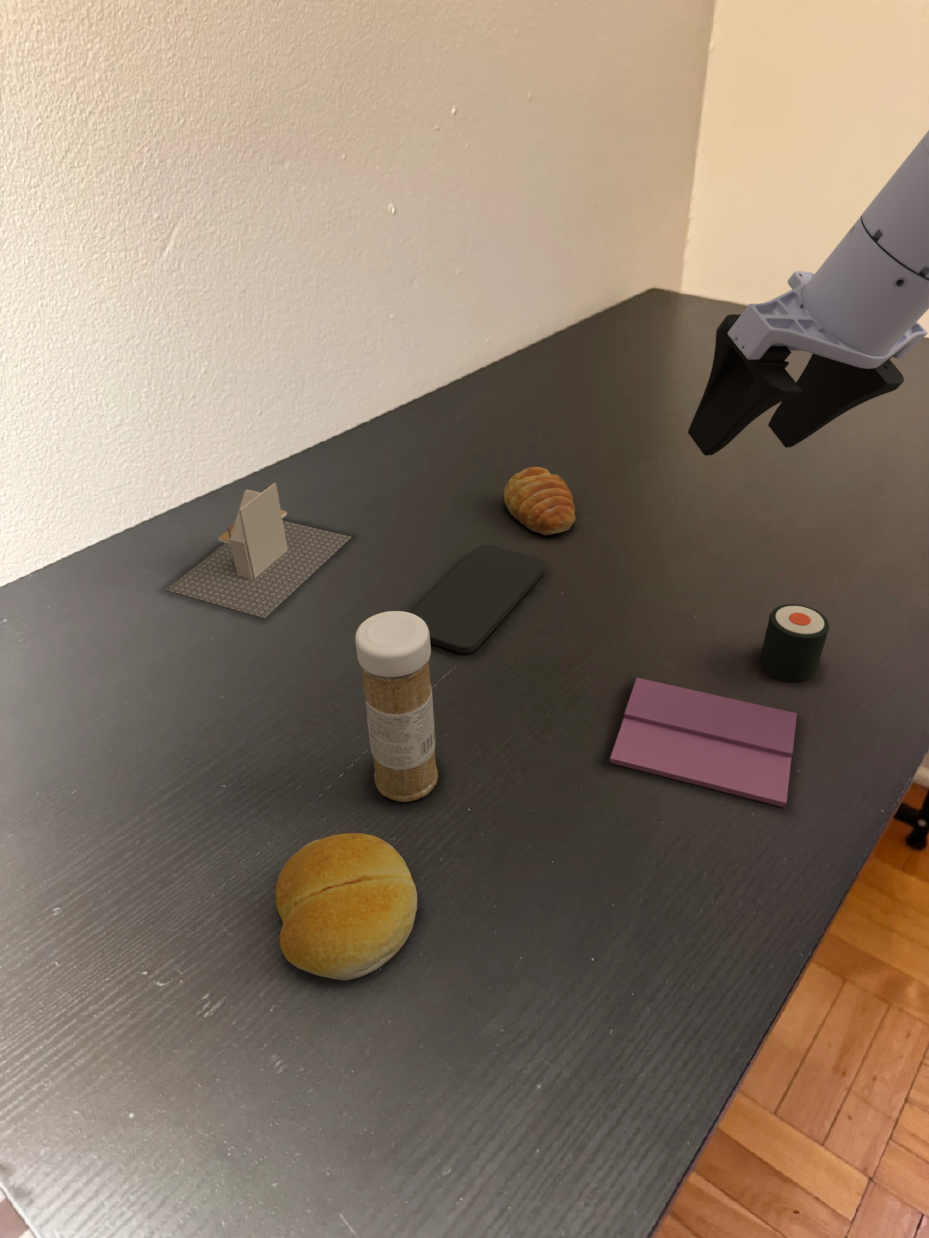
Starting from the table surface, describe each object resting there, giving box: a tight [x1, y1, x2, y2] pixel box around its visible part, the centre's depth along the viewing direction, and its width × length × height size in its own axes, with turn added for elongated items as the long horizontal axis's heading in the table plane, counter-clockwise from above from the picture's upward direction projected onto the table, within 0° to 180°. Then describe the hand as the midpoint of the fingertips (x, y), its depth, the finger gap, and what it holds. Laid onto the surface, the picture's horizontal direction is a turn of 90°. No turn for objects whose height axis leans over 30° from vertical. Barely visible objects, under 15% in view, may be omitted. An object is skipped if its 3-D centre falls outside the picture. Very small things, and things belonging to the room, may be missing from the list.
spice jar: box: [354, 610, 439, 803], centre depth 55 cm, size 5×5×13 cm
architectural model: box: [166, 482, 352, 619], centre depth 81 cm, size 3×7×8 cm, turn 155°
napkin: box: [609, 677, 798, 808], centre depth 61 cm, size 12×9×1 cm
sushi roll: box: [759, 603, 830, 683], centre depth 67 cm, size 4×4×5 cm
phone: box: [409, 544, 546, 654], centre depth 76 cm, size 7×1×15 cm
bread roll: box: [275, 832, 418, 981], centre depth 50 cm, size 8×9×4 cm
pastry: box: [503, 466, 576, 536], centre depth 87 cm, size 9×7×4 cm
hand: (741, 439), depth 53 cm, fingers open, 7 cm apart
